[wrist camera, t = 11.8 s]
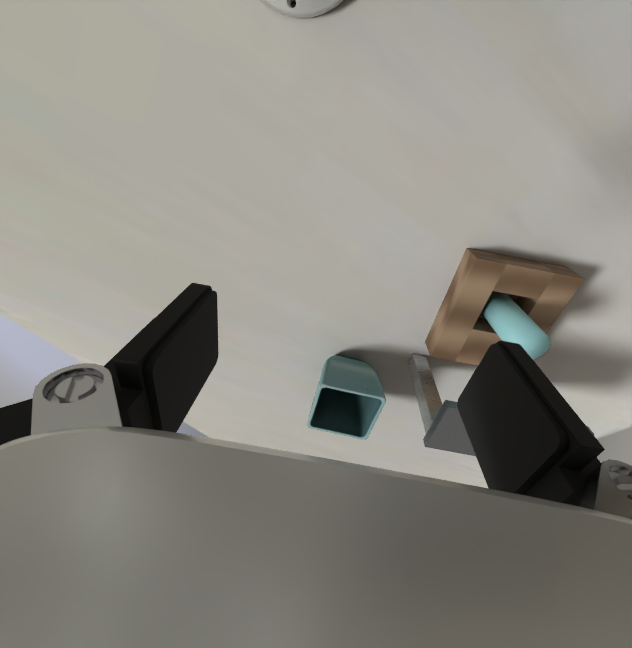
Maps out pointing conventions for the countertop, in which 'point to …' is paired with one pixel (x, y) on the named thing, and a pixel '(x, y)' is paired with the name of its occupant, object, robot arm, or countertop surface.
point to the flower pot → (347, 398)
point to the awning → (438, 412)
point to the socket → (476, 287)
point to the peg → (515, 325)
